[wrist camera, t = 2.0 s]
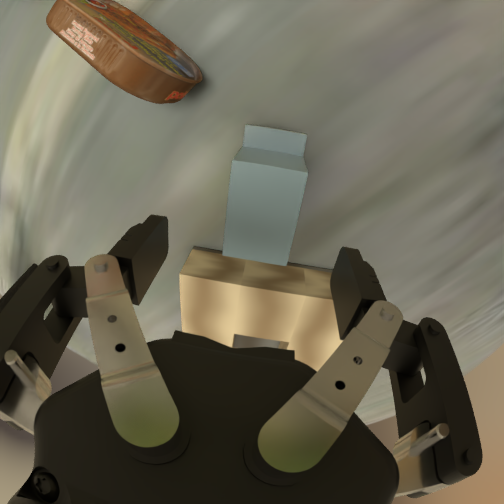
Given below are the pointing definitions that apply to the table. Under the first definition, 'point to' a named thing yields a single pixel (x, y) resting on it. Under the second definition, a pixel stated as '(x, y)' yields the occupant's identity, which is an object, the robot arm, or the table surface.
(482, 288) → the table surface
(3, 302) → the solar garden light
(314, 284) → the block
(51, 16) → the tin
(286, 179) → the grey-blue stepped block
